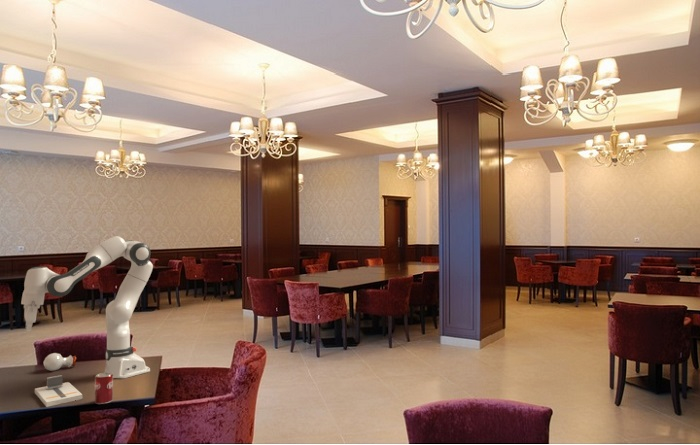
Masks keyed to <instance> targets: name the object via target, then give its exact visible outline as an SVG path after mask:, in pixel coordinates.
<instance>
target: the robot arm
mask: <svg viewBox="0 0 700 445" xmlns="http://www.w3.org/2000/svg"><path fill="white" fill-rule="evenodd" d="M151 254H152V253H151V249H150V247H149V246H148V245H147V244H146V243H144V242H142V241H138V240H125V239H124V238H123V237H121V236H118V235H115V236H112V237H110V238H108V239H106V240H103V241H101V242H100V243H99V244H97V245H95V246H94V247H93V248H91V249H90V250H89V251H88V252H87V253H86V255H85V258H84V260H83V261H82V262H81V263H80V264H78V265H77V266H75V267H74V268H72V269H71V270H69V271H68V272H66V273H64V274H58V273H56V272H54V271H53V270H51V269H49V268H48V267H47V266H34V267H33V266H32V267H31V268H29V269H28V270H27V271H26V274H25V278H24V283H23V284H24V285H23V286H24V290H23V292H22V296H21V303H20V304H21V305H23V309H24V313H23V314H24V315H23V317H24V320H25V331H26V332H27V333H31V332H32V329H33V328H32V327H33V323H36V320H37V313H38V309H40V307H41V306H43V305H44V304H45V303H44V302H45V295H46V294H47V293H49V294H50V295H51V296H53V297H56V298H61V297H65V296H67V295H68V294H70V293H71V291H72V290H73V288H74V286H76V284H77V283H78V282H80V281H82V280H83V279H85V278H86V277H87V276H88V275H89V274H92V273H93V272H95V271H97V270H99V269H101V268H104V267H105V266H107V265H110V264H111V263H112V262H114V261H115V260H117V259H119V258H121V257H122V258H123V259H125V260H127V261H130V263H131V266H130V269H129V270H128V272H127V274H126V276H125V277H124V278H123V281H122V282H121V284H120V286H119V288H118V291H117V294H116V296H115V299H113V300H112V301H110V302H109V303H107V305H106V308H105V323H106V349H105V369H104V372H103V373H112V374H113V379H127V378H131V377H134V376H138V375H141V374H145V373H149V372H151V368H150V367H149V366H147V365H146V362H145V360H144V358H143V357H141V356H140V355H138V354H137V353H135V352H137V350H138V349H137V347H135V346H131V331H130V330H131V329H130V320H131V318H132V315H133V313H134V310H136V309H135V308H136V306H137V304H138V301H139V299H140V296H141V294H142V292H143V291H144V288H145V286H146V285H147V283H148V281H149V278H150V277H151V274H152V272H153V268H154V265H153V263H152V262H151Z"/></svg>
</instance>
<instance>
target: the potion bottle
mask: <svg viewBox="0 0 700 445" xmlns="http://www.w3.org/2000/svg"><path fill="white" fill-rule="evenodd" d="M76 360H77V357H76V355H74V356H72V355H71V354H70V355H69V356H67V357H63V356H62V355H61V353H58V352H53V353H50V354H48V355H47V356H46V357H45V358H44V360H43V366H44V368H45V369H46V371H50V372H55V371H58V370H59V369H60V368H62V366H63V367H64V366H67V368H71V367H74V368H75V366H76Z"/></svg>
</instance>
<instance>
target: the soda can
mask: <svg viewBox="0 0 700 445" xmlns="http://www.w3.org/2000/svg"><path fill="white" fill-rule="evenodd" d="M113 400H114V378H113V374H112V373H104V372H101V373H98V374H96V375H95V376H94V403H95V404H97V405H105V404H109V403H111V402H112V401H113Z"/></svg>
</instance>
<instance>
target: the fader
mask: <svg viewBox="0 0 700 445" xmlns="http://www.w3.org/2000/svg"><path fill="white" fill-rule="evenodd" d="M63 379H64V378H63V375H62V374H59V375H55V376H49V377H46V386H47V387H48V388H49V389H54V388H59V387H62V385H63V383H64V382H63Z"/></svg>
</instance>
